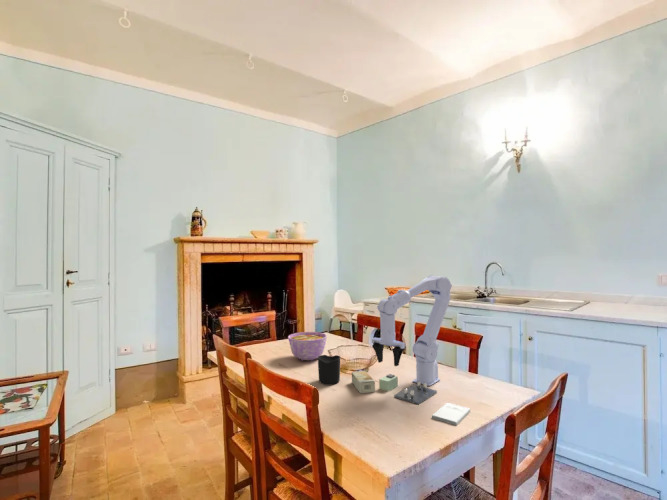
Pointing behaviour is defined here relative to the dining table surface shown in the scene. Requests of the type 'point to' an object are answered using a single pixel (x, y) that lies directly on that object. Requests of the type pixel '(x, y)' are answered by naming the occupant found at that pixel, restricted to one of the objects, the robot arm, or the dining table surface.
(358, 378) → the skincare box
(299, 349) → the bowl of food
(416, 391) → the plate
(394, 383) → the green block
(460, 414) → the external hard drive
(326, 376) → the pen holder
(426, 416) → the dining table surface
